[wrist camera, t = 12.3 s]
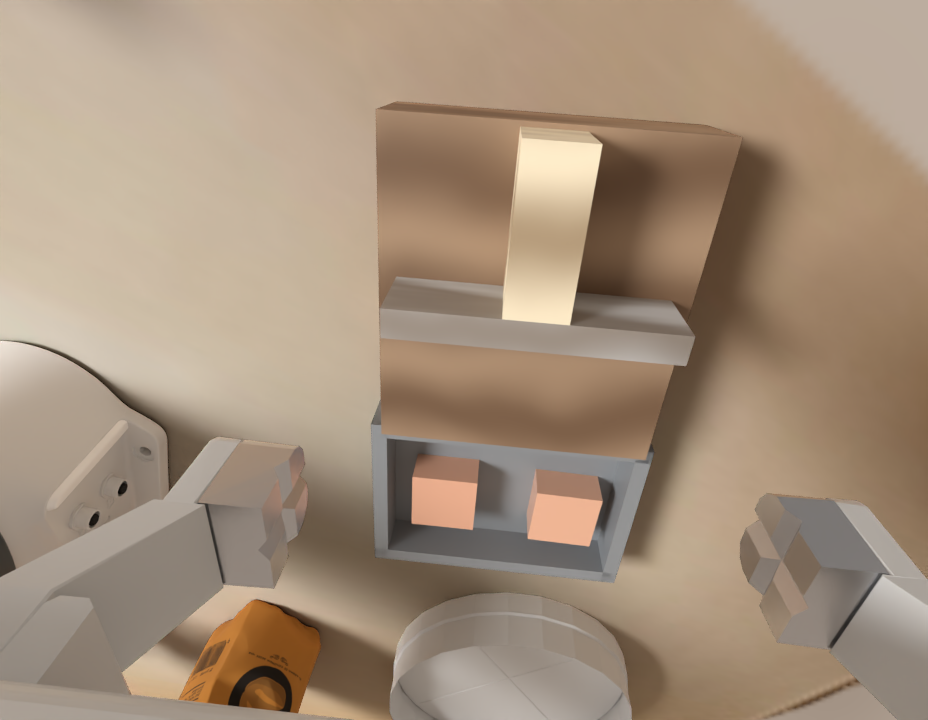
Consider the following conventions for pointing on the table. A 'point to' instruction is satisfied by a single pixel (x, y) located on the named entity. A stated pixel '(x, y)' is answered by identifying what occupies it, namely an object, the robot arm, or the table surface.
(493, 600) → the dish
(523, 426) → the walnut board
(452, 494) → the terracotta tile
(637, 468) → the box
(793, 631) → the robot arm
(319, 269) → the table surface
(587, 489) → the terracotta tile
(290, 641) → the coffee package
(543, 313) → the scraper
